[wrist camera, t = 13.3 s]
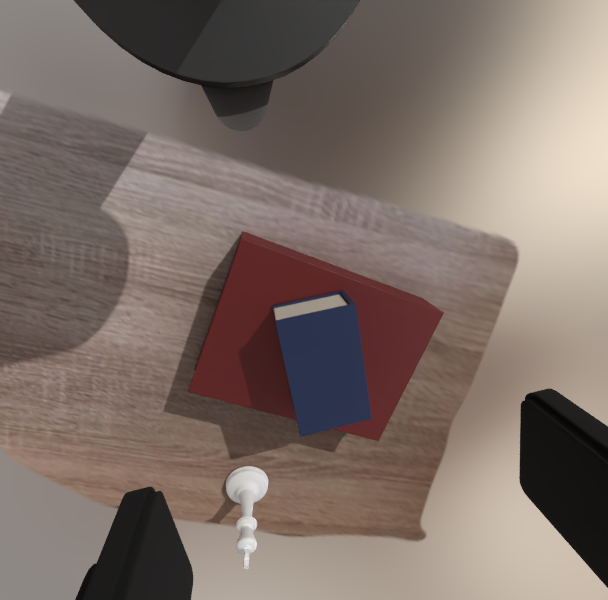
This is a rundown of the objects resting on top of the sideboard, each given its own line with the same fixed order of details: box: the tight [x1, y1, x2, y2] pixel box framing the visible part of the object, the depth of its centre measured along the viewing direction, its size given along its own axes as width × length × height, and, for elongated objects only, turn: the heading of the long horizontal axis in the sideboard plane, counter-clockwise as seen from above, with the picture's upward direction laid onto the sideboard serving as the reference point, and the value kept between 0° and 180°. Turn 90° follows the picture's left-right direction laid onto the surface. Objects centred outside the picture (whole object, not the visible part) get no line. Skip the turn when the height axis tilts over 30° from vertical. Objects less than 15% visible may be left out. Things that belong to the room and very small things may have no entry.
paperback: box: [272, 290, 372, 436], centre depth 33 cm, size 11×6×4 cm, turn 10°
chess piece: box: [226, 466, 268, 569], centre depth 39 cm, size 5×5×10 cm
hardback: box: [188, 232, 443, 441], centre depth 37 cm, size 20×15×4 cm
